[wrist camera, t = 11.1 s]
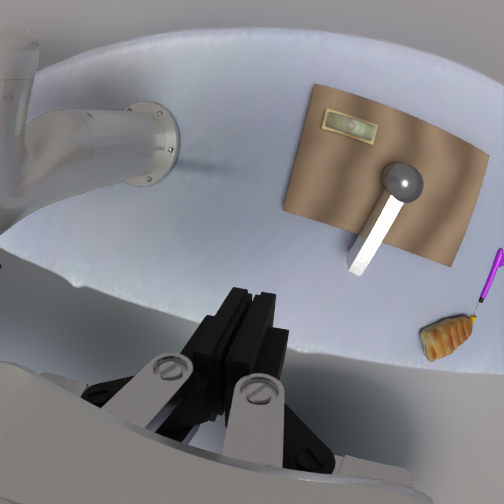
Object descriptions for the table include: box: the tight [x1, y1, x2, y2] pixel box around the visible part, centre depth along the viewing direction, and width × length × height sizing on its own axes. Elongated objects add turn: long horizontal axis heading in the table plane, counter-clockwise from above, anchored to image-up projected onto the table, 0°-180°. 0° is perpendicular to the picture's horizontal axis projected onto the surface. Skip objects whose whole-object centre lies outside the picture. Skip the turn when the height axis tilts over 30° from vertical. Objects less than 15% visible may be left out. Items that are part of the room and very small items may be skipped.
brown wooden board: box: [283, 84, 490, 267], centre depth 30 cm, size 24×16×5 cm, turn 77°
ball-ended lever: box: [346, 162, 424, 276], centre depth 30 cm, size 14×4×4 cm, turn 157°
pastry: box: [420, 316, 473, 362], centre depth 36 cm, size 9×7×4 cm
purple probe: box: [469, 248, 504, 323], centre depth 33 cm, size 3×1×16 cm
